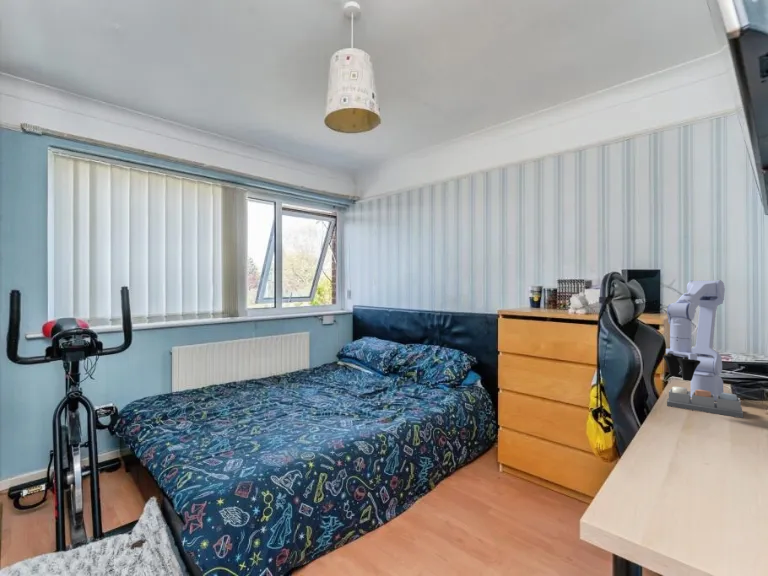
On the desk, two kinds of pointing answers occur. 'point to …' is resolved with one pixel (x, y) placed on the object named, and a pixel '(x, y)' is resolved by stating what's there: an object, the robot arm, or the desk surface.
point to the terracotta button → (703, 393)
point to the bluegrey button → (728, 396)
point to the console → (705, 404)
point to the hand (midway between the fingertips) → (680, 378)
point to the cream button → (679, 390)
